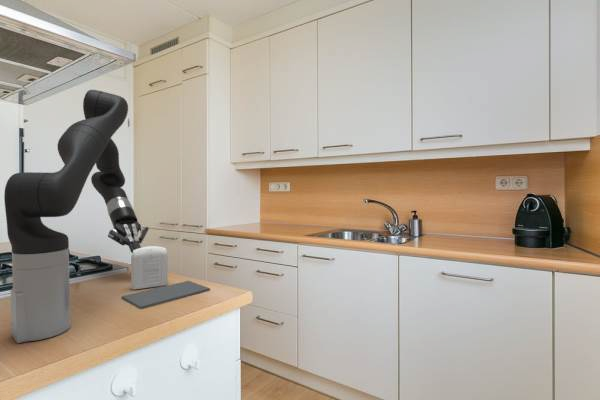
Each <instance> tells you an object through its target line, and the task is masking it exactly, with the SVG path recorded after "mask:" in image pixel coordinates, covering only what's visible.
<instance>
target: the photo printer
mask: <svg viewBox="0 0 600 400" xmlns="http://www.w3.org/2000/svg"><path fill="white" fill-rule="evenodd" d="M130 257H131V258H130V262H131V263H130V269H131V270H130V289H131V290H134V291H136V290H142V289H147V288H148V289H149V288H155V287H156V288H157V287H163V286H168V281H169V279H168V276H169V275H168V274H169V272H168V265H169V264H168V262H169V261H168V258H169V256H168V251H167V248H166V247H163V246H159V245H158V246H156V245H154V246H153V245H148V246H141V248H138V249H136V250H133V253H131V255H130Z"/></svg>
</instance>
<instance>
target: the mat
mask: <svg viewBox="0 0 600 400" xmlns="http://www.w3.org/2000/svg"><path fill="white" fill-rule="evenodd" d="M209 291H211V288H210V287H207V286H205V285H202V284H200V283H199V284H198V283H196V282H194V281H191V280H186V281H182V282H178V283H172V284H167V285H164V286H158V287H156V288H155V287H154V288H152V289H147V290H143V291H138V292H133V293H130V294H125V295H121V299H122V300H124V301H126V302H128V303H129V304H130V305H132V306H135V307H136V308H137V309H140V310H142V309H146V308H150V307H154V306H156V305H162V304H164V303H167V302H171V301H175V300H179V299H183V298H187V297H190V296H194V295H197V294H201V293H205V292H209Z"/></svg>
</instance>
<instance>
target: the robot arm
mask: <svg viewBox="0 0 600 400" xmlns="http://www.w3.org/2000/svg"><path fill="white" fill-rule="evenodd" d="M82 101H83V103H82V107H83V109H82V110H83V111H82V112H83V115H84V119H82V120H78V121H77V122H75V123H72V124H71V125H70V126H69V127H68V128H66V129H65V131H64V132H63V133H62V134H61V136H60V138H59V139H58V141H57V153H58V155H59V157H60V159H61V161H62V162H63V164H64V165H63V167H61V169H60V170H58V171H55V172H30V171H29V172H24V171H23V172H16V173H14V174H12V175H11V176H9V178H8V179H7V181H6V184H5V188H4V195H3V196H4V211H5V218H6V219H5V220H6V230H7V239H8V240H9V243H10V245H11V262H12V263H11V264H12V265H11V266H12V273H11V274H12V288H11V289H10V307H11V309H10V310H11V311H10V313H11V314H10V315H11V335H12V337H13V339H14V341H15V342H16V344H21V343H25V342H33V341H41V340H45V339H46V340H47V339H49V338H52V337H55V336H58V335H61V334H63V333H64V332H66V331H68V330H69V329H70V328H71V294H70V291H71V290H70V262H69V261H70V253H69V252H70V251H69V250H70V248H69V247H70V245H69V241H70V240H69V236H68V235H67V234H65V233H64V232H60V231H57V230H54V229H52V228H50V227H48V226H46V225H45V224H44V223H43V221H42V218H58V217H59V218H60V217H64V216H67V215H68V214H71V212H72V211H73V209H74V208H75V206H76V204H77V203H78V201H79V199H80V196H81V194H82V192H83V189H84V187H85V184H86V182H87V179H88V178H89V176H90V174H91V172H92V170H93V168H94V167H96V169H97V170H98V171H96V172H94V173H93V174H92V175H91V178H90V179H91V180H90V181H91V184H92V186H93V188H94V189H95V190H96V191H97V192H98V194H100V196H101V197H102V198H103V200H104V203H105V205H106V208H107V209H106V210H107V214H108V216H109V219H110V221H111V225H112V227H113V228H112V229H110V230H109V232H108V234H107V237H108V238H109V239H111V240H113V241H115V242H116V243H117V244H119V245H121V246H128V248H129V250H130V253H131V254H132V253H133V250H136V249H138V248H142V246H141V245H140V244H142V243H143V241H144V239H145V237H146V235H147V233H148V231H149V229H150V228H149V227H148V226H145V227H143V226H142V224H140V223H139V221H138V217H137V215H136V212H135V210H134V208H133V205H132V204H131V202H130V201H129V197H128V196H127V194H126V191H125V189H123V187H124V185H125V183H126V177H125V175H124V173H123V171H122V170H121V167H120V166H121V165H120V154H119V152H120V151H119V149H118V146H117V144H116V143H115V141H114V140H113V139H112V137H113V135H114V134H115V133H116V132H117V130H118V129H119V128H121V126H122V125H123V124H124V122H125V120H126V118H127V116H128V112H129V105H128V102H127V100H126V99H125V98H124V97H122V96H121V95H118V94H115V93H109V92H106V91H103V90H102V91H101V90H96V89H89V90H87V91H86V93H85V95H84V98H83V100H82ZM139 232H140V236H138V235H139V234H138V233H139Z"/></svg>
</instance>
